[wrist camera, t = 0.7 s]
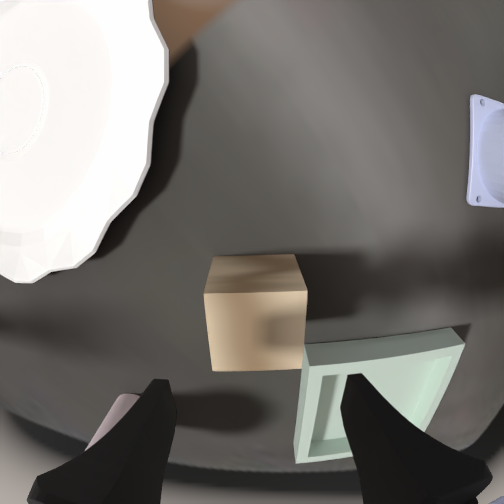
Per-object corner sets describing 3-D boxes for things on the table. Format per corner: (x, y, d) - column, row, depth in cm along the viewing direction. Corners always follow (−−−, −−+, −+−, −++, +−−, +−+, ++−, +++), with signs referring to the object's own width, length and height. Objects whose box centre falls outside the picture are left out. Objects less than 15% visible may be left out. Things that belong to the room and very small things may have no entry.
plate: (134, -86, 10) (127, -98, 9) (224, 213, 19) (222, 221, 17) (-73, 72, 13) (-85, 72, 11) (-18, 297, 21) (-30, 307, 19)
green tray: (450, 327, 22) (465, 343, 20) (411, 424, 27) (418, 441, 24) (304, 344, 22) (309, 366, 20) (293, 443, 27) (295, 463, 24)
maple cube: (293, 253, 20) (307, 290, 15) (291, 321, 22) (301, 368, 17) (213, 255, 20) (203, 293, 15) (219, 323, 21) (212, 370, 17)
